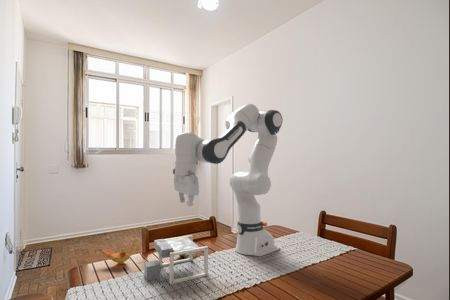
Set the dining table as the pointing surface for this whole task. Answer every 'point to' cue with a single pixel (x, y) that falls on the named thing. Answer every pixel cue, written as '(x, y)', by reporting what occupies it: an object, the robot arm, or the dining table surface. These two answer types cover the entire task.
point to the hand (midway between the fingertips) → (185, 204)
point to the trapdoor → (173, 246)
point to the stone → (152, 269)
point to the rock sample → (188, 255)
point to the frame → (185, 261)
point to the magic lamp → (118, 256)
